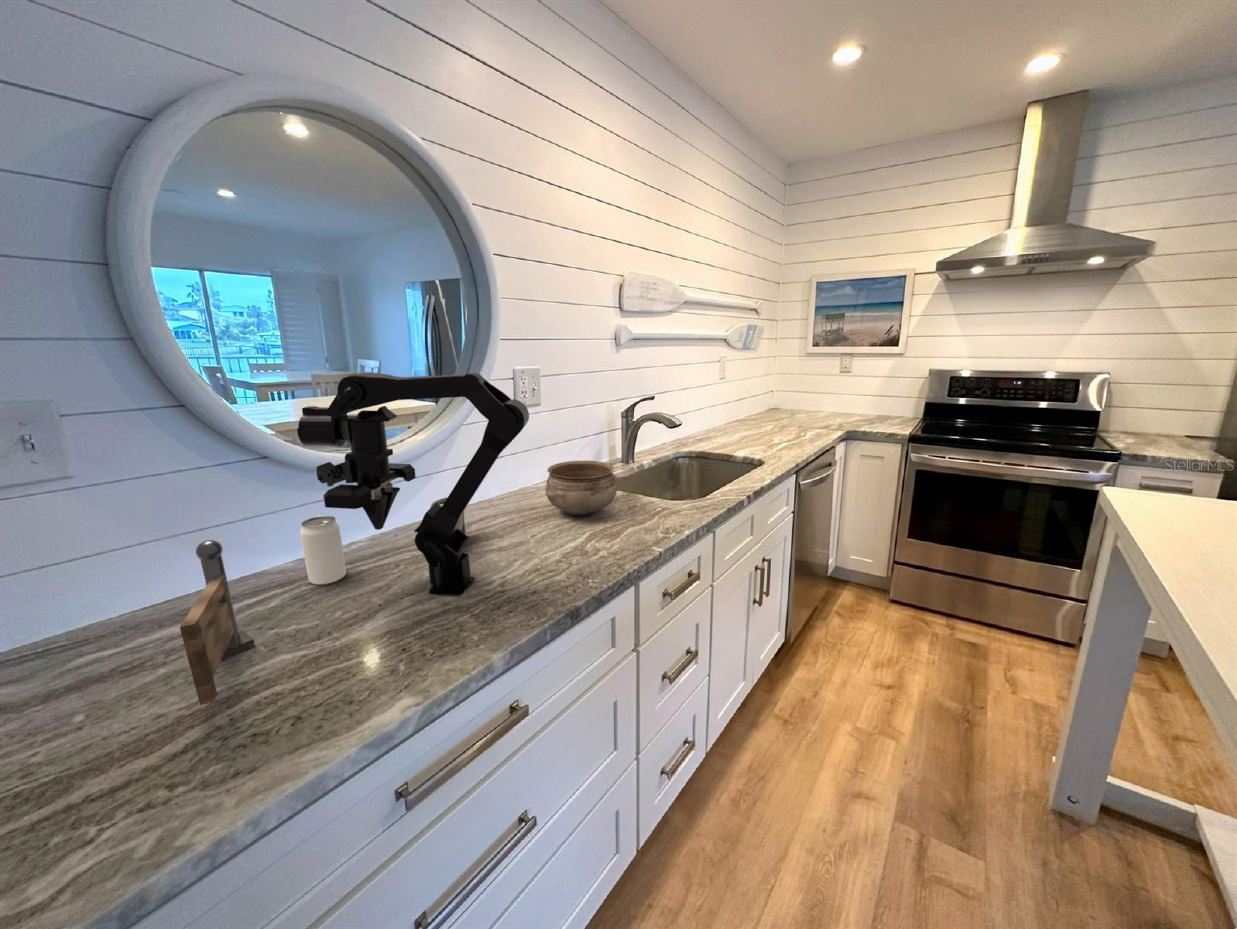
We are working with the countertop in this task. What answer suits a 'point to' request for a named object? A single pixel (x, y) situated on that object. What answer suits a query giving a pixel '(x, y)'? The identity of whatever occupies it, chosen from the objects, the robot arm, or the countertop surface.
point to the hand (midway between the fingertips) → (378, 528)
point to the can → (323, 550)
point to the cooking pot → (581, 486)
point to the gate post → (213, 567)
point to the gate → (209, 636)
